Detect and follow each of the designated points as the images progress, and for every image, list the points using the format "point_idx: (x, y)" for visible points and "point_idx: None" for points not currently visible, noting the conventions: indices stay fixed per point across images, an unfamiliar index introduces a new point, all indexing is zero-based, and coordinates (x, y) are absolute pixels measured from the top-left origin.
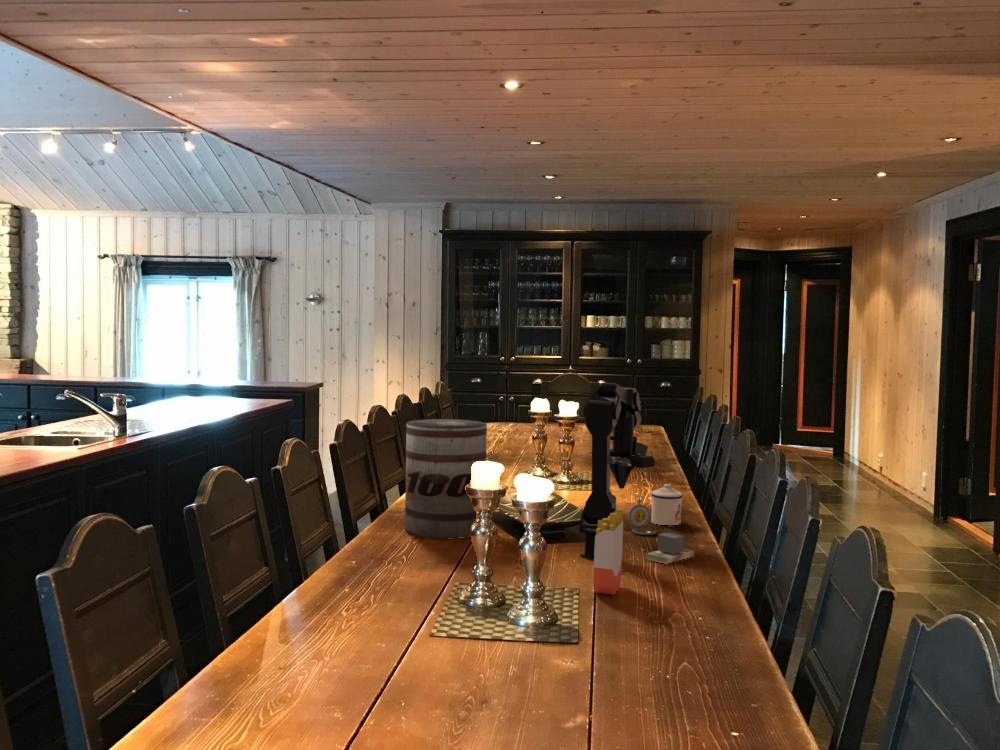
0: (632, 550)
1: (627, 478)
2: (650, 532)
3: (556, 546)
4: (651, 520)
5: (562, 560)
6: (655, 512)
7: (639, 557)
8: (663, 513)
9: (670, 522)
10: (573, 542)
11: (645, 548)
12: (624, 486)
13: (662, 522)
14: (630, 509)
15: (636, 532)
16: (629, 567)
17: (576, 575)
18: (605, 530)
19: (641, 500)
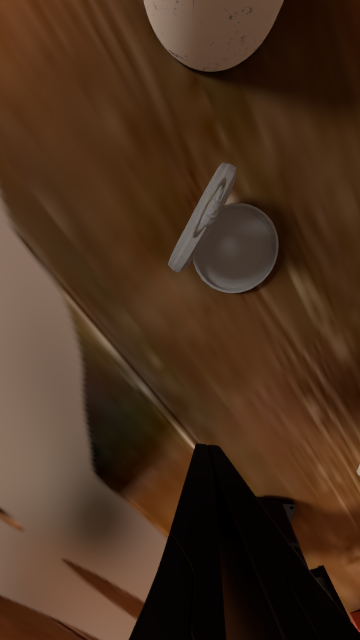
0: (297, 433)
1: (277, 531)
2: (269, 268)
3: (143, 513)
4: (156, 32)
5: None
6: (195, 22)
7: (337, 467)
8: (247, 18)
9: (265, 32)
10: (146, 469)
11: (316, 398)
12: (225, 456)
13: (232, 60)
14: (177, 263)
15: (225, 291)
16: (348, 527)
17: None
18: None
19: (219, 199)
